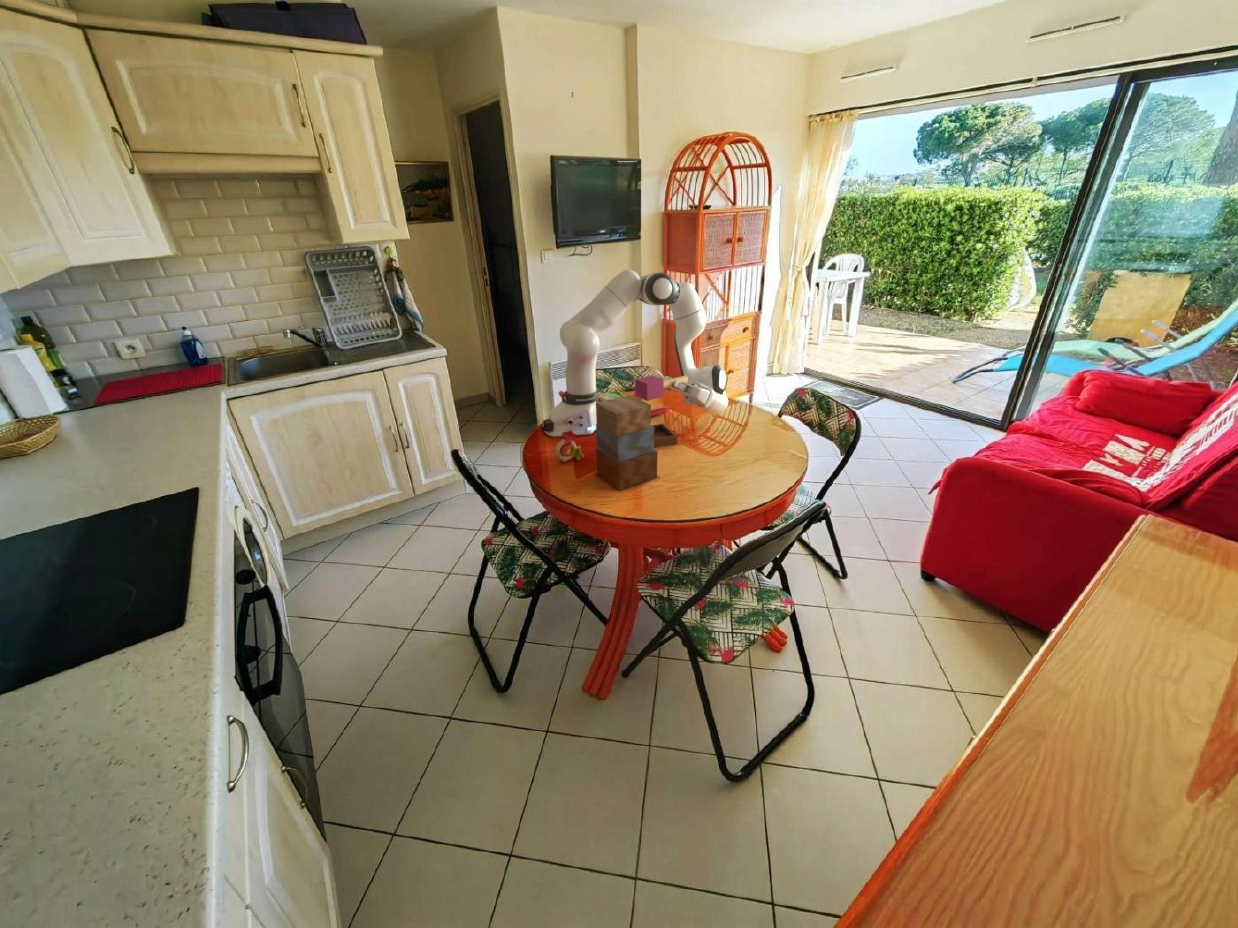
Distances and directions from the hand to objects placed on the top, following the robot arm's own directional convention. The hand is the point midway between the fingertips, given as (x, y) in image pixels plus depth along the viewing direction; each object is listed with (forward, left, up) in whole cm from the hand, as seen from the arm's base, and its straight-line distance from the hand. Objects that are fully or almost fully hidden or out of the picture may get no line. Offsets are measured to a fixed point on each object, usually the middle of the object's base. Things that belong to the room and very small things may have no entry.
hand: (670, 381), depth 179 cm
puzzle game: (-9, +34, -20) cm, 40 cm away
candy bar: (+1, +20, -20) cm, 28 cm away
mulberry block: (-3, -1, -4) cm, 4 cm away
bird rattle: (-39, -8, -20) cm, 45 cm away
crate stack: (-25, -25, -20) cm, 41 cm away
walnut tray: (-9, -2, -20) cm, 22 cm away
